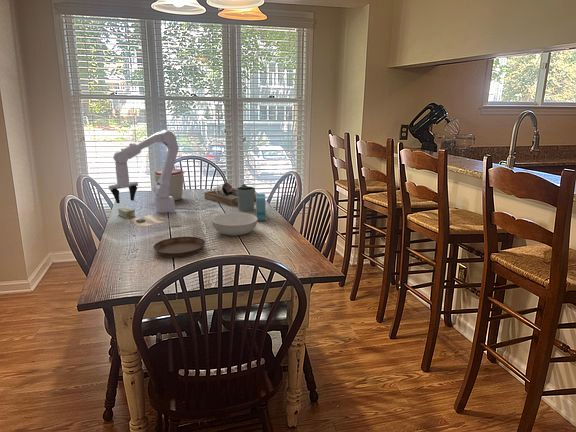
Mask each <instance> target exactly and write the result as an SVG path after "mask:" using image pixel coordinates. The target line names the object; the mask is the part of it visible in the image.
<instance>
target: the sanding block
mask: <svg viewBox="0 0 576 432" xmlns="http://www.w3.org/2000/svg"><path fill="white" fill-rule="evenodd" d="M117 209H118V211H117V212H118V216H120V217H122V218H125V219H131V218H136V213H135V209H132V208H130V207H127V206H126V207H119V208H117Z"/></svg>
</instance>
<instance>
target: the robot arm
mask: <svg viewBox="0 0 576 432" xmlns="http://www.w3.org/2000/svg"><path fill="white" fill-rule="evenodd" d="M155 143H163V144H164V145H165V148H166V149H167V152H166V155H165V159H164V162H163V167H162V169H161V170H162V172H161V176H160V179H159V180H158V182H157V184H156V183H155V185H154V187H153V192H154V194H155V197H154V202H155V210H156V213H160V214H163V213H172V214H175V213H177V211H176V204H175V202H176V201H174V198H173V197H172V196H169V193H170V191H169V187H170V182H169V181H170V177H171V174H172V171H173V169H174V167H175V164H176V159H177V156H178V152H179V145H178V141H177V136H176V135H175V133H173V131H172V130H171V131H170V130H166V129H161V130H160V131H157V132H155V133H154V134H152V135H150V136H148V137H147V138H144V139H143V140H142V141H140V142H138V143H135V142H133V143H129V144H128V146H126V147H124V148H121V149H120V150H118V151H116V152H115V153H114V154H113V157H112V158H113V160H114V162H115V163H114V164H115V175H116V183H117V184H111V185H108V190H109V191H110V192H111V194H112V195H113V198H114V199H115V202H116V204H121V203H120V201H121V200H120V190H119V189H125V188H128V190H129V194H130V196H129V197H130V201H132V202H134V201H135V195H136V192H137V190H138V187H139V182H138V181H132V182H131V181H130V177H129V176H130V175H129V167H128V161H129V160H131V159H132V158H134V157H137V155H140V154H141V152H142V150H143V149H145V148H148V147H149V146H151V145H153V144H155Z"/></svg>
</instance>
